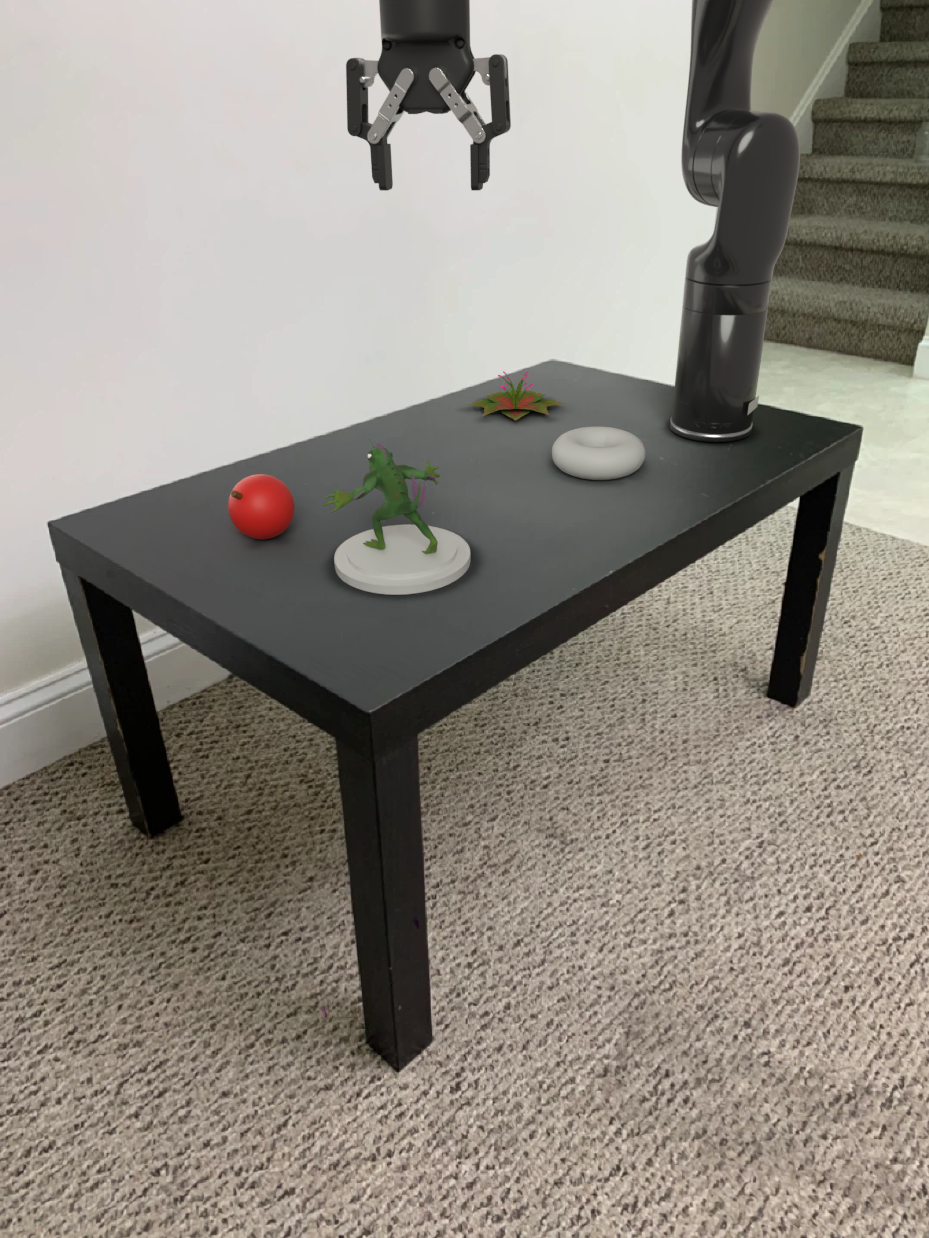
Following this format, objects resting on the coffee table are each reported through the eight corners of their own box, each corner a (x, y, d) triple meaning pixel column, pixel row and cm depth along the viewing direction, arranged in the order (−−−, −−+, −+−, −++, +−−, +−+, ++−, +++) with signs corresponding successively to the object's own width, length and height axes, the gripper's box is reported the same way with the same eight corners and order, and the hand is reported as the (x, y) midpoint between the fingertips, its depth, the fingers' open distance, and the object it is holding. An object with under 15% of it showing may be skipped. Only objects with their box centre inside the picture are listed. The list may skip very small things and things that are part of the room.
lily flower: (515, 432, 112) (515, 394, 109) (448, 409, 119) (447, 374, 117) (582, 409, 119) (584, 373, 116) (515, 389, 126) (515, 355, 124)
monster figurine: (423, 521, 90) (418, 418, 85) (497, 567, 82) (497, 456, 77) (311, 555, 85) (298, 447, 79) (378, 609, 76) (369, 491, 71)
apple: (258, 492, 91) (209, 467, 85) (308, 481, 89) (261, 455, 83) (255, 551, 90) (205, 530, 84) (306, 542, 87) (258, 520, 81)
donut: (545, 483, 98) (642, 487, 96) (545, 452, 97) (644, 455, 95) (557, 450, 107) (646, 453, 105) (557, 420, 105) (648, 423, 103)
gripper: (516, -26, 79) (515, 185, 87) (354, -20, 82) (368, 185, 90) (500, -34, 73) (500, 195, 81) (325, -26, 75) (343, 194, 84)
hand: (430, 189), depth 85 cm, fingers open, 8 cm apart
